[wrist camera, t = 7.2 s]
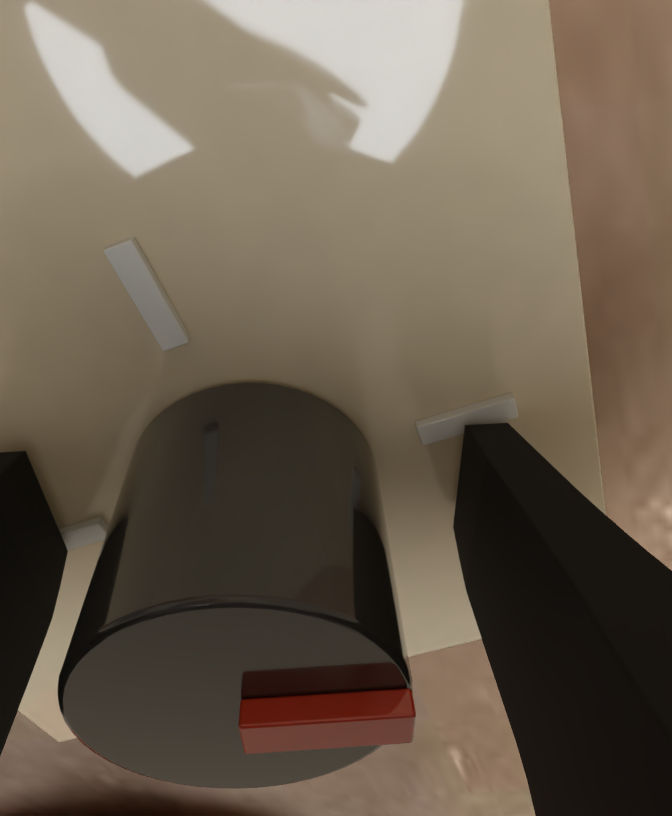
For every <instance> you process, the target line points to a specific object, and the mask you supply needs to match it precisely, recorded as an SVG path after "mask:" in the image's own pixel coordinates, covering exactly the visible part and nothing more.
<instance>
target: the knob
mask: <svg viewBox="0 0 672 816" xmlns="http://www.w3.org/2000/svg"><path fill="white" fill-rule="evenodd" d="M57 694H58V701H59V707H60V711H61V714H62V716H63V718H64V721H65V723H66V724H67V726H68V727H69V729H70V730H71V731H72V733H73V734H74V735H75V736H76V737H77V738H78V739H79V740H80V741H81V742H82V743H83V744H84V745H85V746H87V747H88V748H89V749H91V750H92V751H93V752H94V753H96V754H98V755H99V756H101V757H103V758H104V759H106V760H108V761H109V762H111V763H114V764H116V765H118V766H120V767H122V768H124V769H127V770H130V771H132V772H135V773H138V774H140V775H144V776H147V777H151V778H154V779H158V780H162V781H167V782H172V783H176V784H183V785H190V786H197V787H209V788H258V787H268V786H277V785H283V784H289V783H295V782H299V781H304V780H308V779H312V778H316V777H319V776H322V775H326V774H329V773H332V772H334V771H337V770H339V769H342V768H345V767H347V766H349V765H351V764H353V763H355V762H357V761H359V760H361V759H363V758H364V757H366V756H368V755H369V754H371V753H372V752H374V751H375V750H377V749H378V748H379V747H381V746H382V745H387V744H402V743H411V742H413V737H414V727H415V718H416V712H415V706H414V700H413V691H412V676H411V670H410V664H409V658H408V652H407V646H406V640H405V634H404V628H403V622H402V616H401V610H400V604H399V598H398V592H397V586H396V580H395V574H394V568H393V562H392V556H391V550H390V544H389V538H388V532H387V526H386V520H385V514H384V508H383V502H382V496H381V490H380V484H379V478H378V472H377V467H376V462H375V458H374V454H373V452H372V450H371V447H370V445H369V443H368V441H367V440H366V438H365V437H364V435H363V433H362V432H361V431H360V430H359V428H358V427H357V426H356V425H355V424H354V423H353V422H352V421H351V420H350V419H349V418H348V417H347V416H346V415H345V414H343V413H342V412H341V411H340V410H339V409H337V408H336V407H334V406H333V405H331V404H330V403H328V402H327V401H325V400H323V399H321V398H319V397H317V396H314V395H312V394H310V393H307V392H304V391H302V390H299V389H296V388H292V387H287V386H283V385H279V384H270V383H262V382H241V383H231V384H224V385H219V386H215V387H210V388H207V389H204V390H201V391H198V392H195V393H192V394H190V395H188V396H186V397H184V398H182V399H180V400H178V401H177V402H175V403H174V404H172V405H171V406H169V407H168V408H166V409H165V410H163V411H162V412H161V413H160V414H159V415H158V416H157V417H155V418H154V419H153V420H152V421H151V422H150V424H149V425H148V426H147V427H146V429H145V430H144V431H143V433H142V434H141V436H140V438H139V440H138V441H137V443H136V446H135V449H134V452H133V454H132V457H131V460H130V463H129V466H128V469H127V472H126V475H125V478H124V481H123V484H122V487H121V490H120V493H119V496H118V499H117V502H116V505H115V508H114V511H113V514H112V517H111V520H110V523H109V526H108V530H107V533H106V536H105V539H104V542H103V545H102V548H101V551H100V554H99V557H98V560H97V563H96V566H95V569H94V572H93V575H92V578H91V581H90V584H89V587H88V590H87V593H86V596H85V599H84V602H83V605H82V608H81V611H80V614H79V617H78V620H77V623H76V626H75V629H74V632H73V635H72V638H71V641H70V644H69V647H68V650H67V653H66V656H65V659H64V662H63V665H62V668H61V671H60V674H59V677H58V686H57Z"/></svg>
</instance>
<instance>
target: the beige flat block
mask: <svg viewBox="0 0 672 816" xmlns="http://www.w3.org/2000/svg"><path fill="white" fill-rule="evenodd" d="M241 382H262V383H270V384H279V385H283V386H287V387H292V388H296V389H299V390H302V391H304V392H307V393H310V394H312V395H314V396H317V397H319V398H321V399H323V400H325V401H327V402H328V403H330V404H331V405H333V406H334V407H336V408H337V409H339V410H340V411H341V412H342V413H343V414H345V415H346V416H347V417H348V418H349V419H350V420H351V421H352V422H353V423H354V424H355V425H356V426H357V427H358V428H359V430H360V431H361V432H362V433H363V435H364V437H365V438H366V440H367V441H368V443H369V445H370V447H371V450H372V452H373V454H374V458H375V462H376V467H377V472H378V478H379V484H380V490H381V496H382V502H383V508H384V514H385V520H386V526H387V532H388V538H389V544H390V550H391V556H392V562H393V568H394V574H395V580H396V586H397V592H398V598H399V604H400V610H401V616H402V622H403V628H404V634H405V640H406V646H407V652H408V657H411V656H415V655H419V654H423V653H427V652H431V651H435V650H439V649H443V648H447V647H452V646H456V645H460V644H464V643H468V642H472V641H476V640H480V639H482V638H481V635H480V632H479V629H478V626H477V623H476V620H475V617H474V614H473V610H472V607H471V604H470V601H469V598H468V595H467V592H466V588H465V583H464V578H463V574H462V569H461V564H460V560H459V555H458V549H457V544H456V539H455V534H454V529H453V523H454V514H455V505H456V497H457V488H458V480H459V471H460V463H461V454H462V445H463V437H464V428H465V425H476V424H493V423H509V424H510V425H511V426H512V427H513V428H514V429H515V430H516V431H517V432H518V433H519V434H520V435H521V436H522V437H523V438H524V439H525V440H526V441H527V442H528V443H529V444H530V445H532V446H533V447H534V448H535V449H536V450H537V451H538V452H539V453H540V454H541V455H542V456H543V457H544V458H545V459H546V460H547V461H548V462H549V463H550V464H551V465H552V466H553V467H554V468H555V469H556V470H558V471H559V472H560V473H561V474H562V475H563V476H564V477H565V478H566V479H567V480H568V481H569V482H570V483H571V484H572V485H573V486H574V487H575V488H576V489H578V490H579V491H580V492H581V493H582V494H583V495H584V496H585V497H586V498H587V499H588V500H589V501H591V502H592V503H593V504H594V505H595V506H596V507H597V508H598V509H599V510H601V511H602V512H603V513H604V514H605V515H606V507H605V498H604V489H603V480H602V471H601V462H600V453H599V444H598V435H597V426H596V417H595V408H594V399H593V390H592V381H591V372H590V363H589V354H588V345H587V336H586V327H585V318H584V309H583V300H582V292H581V283H580V274H579V265H578V256H577V247H576V238H575V229H574V220H573V211H572V202H571V193H570V184H569V175H568V166H567V157H566V148H565V139H564V130H563V121H562V112H561V103H560V94H559V85H558V76H557V67H556V58H555V49H554V40H553V31H552V22H551V13H550V4H549V0H0V452H16V451H26V453H27V455H28V458H29V460H30V463H31V465H32V467H33V470H34V472H35V474H36V477H37V479H38V481H39V484H40V486H41V489H42V491H43V493H44V496H45V498H46V500H47V503H48V505H49V507H50V510H51V512H52V515H53V517H54V519H55V522H56V524H57V526H58V529H59V531H60V533H61V536H62V538H63V541H64V543H65V545H66V548H67V550H68V553H67V558H66V562H65V567H64V572H63V576H62V581H61V585H60V590H59V594H58V598H57V602H56V606H55V610H54V614H53V618H52V620H51V623H50V626H49V629H48V632H47V634H46V637H45V640H44V642H43V645H42V648H41V650H40V653H39V656H38V658H37V661H36V664H35V666H34V669H33V672H32V674H31V677H30V680H29V682H28V685H27V687H26V690H25V693H24V695H23V698H22V700H21V703H20V706H19V708H18V711H19V712H20V713H21V714H23V715H24V716H25V717H26V718H28V719H29V720H30V721H32V722H33V723H34V724H36V725H37V726H38V727H39V728H41V729H42V730H43V731H45V732H46V733H47V734H48V735H50V736H51V737H52V738H54V739H55V740H56V741H57V742H63V741H67V740H71V739H76V738H77V737H76V736H75V735H74V734H73V733H72V731H71V730H70V729H69V727H68V726H67V724H66V723H65V721H64V718H63V716H62V714H61V711H60V707H59V701H58V694H57V686H58V677H59V674H60V671H61V668H62V665H63V662H64V659H65V656H66V653H67V650H68V647H69V644H70V641H71V638H72V635H73V632H74V629H75V626H76V623H77V620H78V617H79V614H80V611H81V608H82V605H83V602H84V599H85V596H86V593H87V590H88V587H89V584H90V581H91V578H92V575H93V572H94V569H95V566H96V563H97V560H98V557H99V554H100V551H101V548H102V545H103V542H104V539H105V536H106V533H107V530H108V526H109V523H110V520H111V517H112V514H113V511H114V508H115V505H116V502H117V499H118V496H119V493H120V490H121V487H122V484H123V481H124V478H125V475H126V472H127V469H128V466H129V463H130V460H131V457H132V454H133V452H134V449H135V446H136V443H137V441H138V440H139V438H140V436H141V434H142V433H143V431H144V430H145V429H146V427H147V426H148V425H149V424H150V422H151V421H152V420H153V419H154V418H155V417H157V416H158V415H159V414H160V413H161V412H162V411H163V410H165V409H166V408H168V407H169V406H171V405H172V404H174V403H175V402H177V401H178V400H180V399H182V398H184V397H186V396H188V395H190V394H192V393H195V392H198V391H201V390H204V389H207V388H210V387H215V386H219V385H224V384H231V383H241Z"/></svg>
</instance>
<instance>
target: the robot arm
mask: <svg viewBox="0 0 672 816" xmlns="http://www.w3.org/2000/svg"><path fill="white" fill-rule="evenodd" d="M453 529H454V534H455V539H456V544H457V549H458V555H459V560H460V564H461V569H462V574H463V578H464V583H465V588H466V592H467V595H468V598H469V601H470V604H471V607H472V610H473V614H474V617H475V620H476V623H477V626H478V629H479V632H480V635H481V638H482V641H483V644H484V647H485V650H486V653H487V656H488V659H489V662H490V665H491V668H492V671H493V674H494V677H495V680H496V683H497V686H498V689H499V692H500V695H501V698H502V701H503V704H504V707H505V710H506V713H507V716H508V719H509V722H510V725H511V728H512V731H513V734H514V737H515V740H516V743H517V746H518V750H519V753H520V757H521V760H522V763H523V767H524V770H525V774H526V777H527V781H528V785H529V789H530V793H531V798H532V802H533V806H534V810H535V814H536V816H672V571H671V570H670V569H669V568H668V567H666V566H665V565H664V564H663V563H661V562H660V561H659V560H658V559H656V558H655V557H654V556H653V555H651V554H650V553H649V552H648V551H646V550H645V549H644V548H643V547H642V546H641V545H639V544H638V543H637V542H636V541H635V540H634V539H632V538H631V537H630V536H629V535H628V534H627V533H625V532H624V531H623V530H622V529H621V528H620V527H618V526H617V525H616V524H615V523H614V522H613V521H612V520H611V519H610V518H608V517H607V516H606V515H605V514H604V513H603V512H602V511H601V510H599V509H598V508H597V507H596V506H595V505H594V504H593V503H592V502H591V501H589V500H588V499H587V498H586V497H585V496H584V495H583V494H582V493H581V492H580V491H579V490H578V489H576V488H575V487H574V486H573V485H572V484H571V483H570V482H569V481H568V480H567V479H566V478H565V477H564V476H563V475H562V474H561V473H560V472H559V471H558V470H556V469H555V468H554V467H553V466H552V465H551V464H550V463H549V462H548V461H547V460H546V459H545V458H544V457H543V456H542V455H541V454H540V453H539V452H538V451H537V450H536V449H535V448H534V447H533V446H532V445H530V444H529V443H528V442H527V441H526V440H525V439H524V438H523V437H522V436H521V435H520V434H519V433H518V432H517V431H516V430H515V429H514V428H513V427H512V426H511V425H510V424H509V423H493V424H476V425H465V428H464V437H463V445H462V454H461V463H460V471H459V480H458V488H457V497H456V505H455V514H454V523H453ZM67 553H68V550H67V548H66V545H65V543H64V541H63V538H62V536H61V533H60V531H59V529H58V526H57V524H56V522H55V519H54V517H53V515H52V512H51V510H50V507H49V505H48V503H47V500H46V498H45V496H44V493H43V491H42V489H41V486H40V484H39V481H38V479H37V477H36V474H35V472H34V470H33V467H32V465H31V463H30V460H29V458H28V455H27V453H26V451H16V452H0V755H1V753H2V750H3V747H4V745H5V742H6V740H7V737H8V734H9V732H10V729H11V727H12V724H13V721H14V719H15V716H16V714H17V711H18V708H19V706H20V703H21V700H22V698H23V695H24V693H25V690H26V687H27V685H28V682H29V680H30V677H31V674H32V672H33V669H34V666H35V664H36V661H37V658H38V656H39V653H40V650H41V648H42V645H43V642H44V640H45V637H46V634H47V632H48V629H49V626H50V623H51V620H52V618H53V614H54V610H55V606H56V602H57V598H58V594H59V590H60V585H61V581H62V576H63V572H64V567H65V562H66V558H67Z"/></svg>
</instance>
